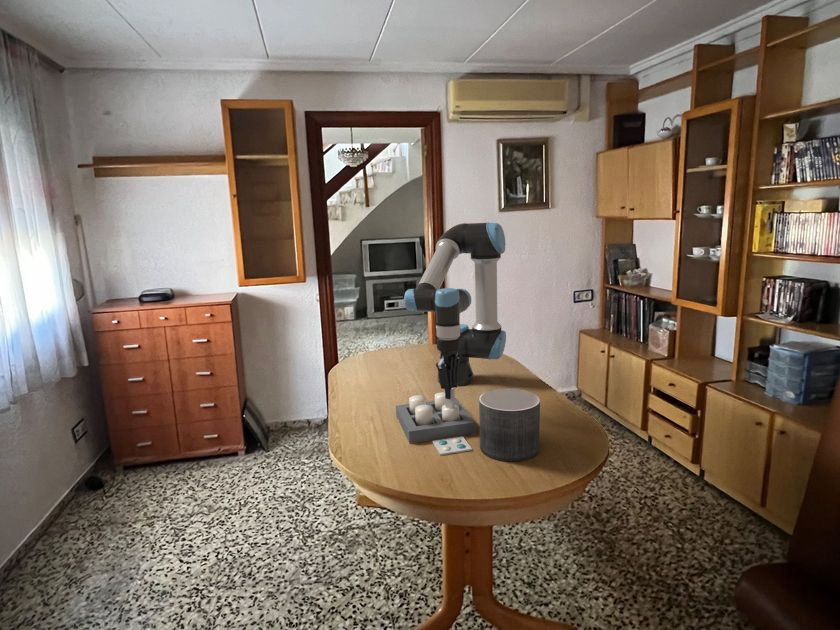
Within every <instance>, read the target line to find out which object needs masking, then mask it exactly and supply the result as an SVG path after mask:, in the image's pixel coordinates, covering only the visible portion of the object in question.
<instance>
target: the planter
mask: <svg viewBox="0 0 840 630" xmlns="http://www.w3.org/2000/svg"><path fill="white" fill-rule="evenodd" d="M478 404H479V405H478V409H479V410H478V412H479V413H478V414H479V415H478V417H479V418H478V419H479V448H480V450H481V452H482V453H483V454H484V455H485V456H487V457H489V458H491V459H494V460H497V461H503V462H522V461H527V460H530V459H531V458H534V457H535V456H537V455H538V454H539V451H540V421H541V420H540V418H541V398H540V397H539V396H538V394H536V393H534V392H532V391H529V390H525V389H520V388H511V387H509V388H496V389H490V390H488V391H485V392H483V393H481V394H480V396H479V397H478Z"/></svg>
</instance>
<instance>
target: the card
mask: <svg viewBox="0 0 840 630" xmlns="http://www.w3.org/2000/svg"><path fill="white" fill-rule="evenodd" d="M431 441H432V444H433V445H434V448H435V449H436V451H437V453H438V454H439V456H446V455H451V454H457V453H465V452H470V451H473V448H472V446H471V445H470V444H469V443H468V442H467V440H466V439H465V437H464V435H463V436H456V437H450V438H443V439H436V440H431Z"/></svg>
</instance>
